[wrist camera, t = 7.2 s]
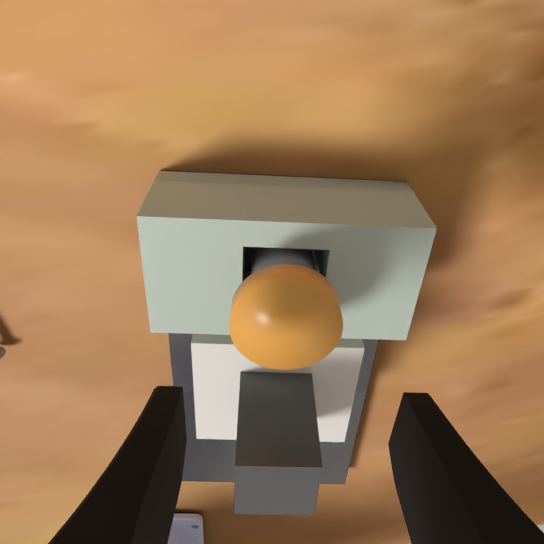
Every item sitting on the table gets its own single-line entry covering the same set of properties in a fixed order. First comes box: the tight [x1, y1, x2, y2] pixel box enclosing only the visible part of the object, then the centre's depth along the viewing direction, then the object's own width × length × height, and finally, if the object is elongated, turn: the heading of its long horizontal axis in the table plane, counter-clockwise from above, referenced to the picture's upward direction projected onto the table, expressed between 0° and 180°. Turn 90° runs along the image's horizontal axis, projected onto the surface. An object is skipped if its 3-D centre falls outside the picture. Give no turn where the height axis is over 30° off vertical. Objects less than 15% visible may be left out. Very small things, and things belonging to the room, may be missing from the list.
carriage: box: [191, 334, 365, 515], centre depth 19 cm, size 6×7×6 cm
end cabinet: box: [137, 171, 437, 340], centre depth 19 cm, size 5×10×4 cm, turn 87°
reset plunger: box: [229, 247, 343, 370], centre depth 17 cm, size 4×4×4 cm
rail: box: [169, 180, 405, 484], centre depth 23 cm, size 20×10×2 cm, turn 177°
